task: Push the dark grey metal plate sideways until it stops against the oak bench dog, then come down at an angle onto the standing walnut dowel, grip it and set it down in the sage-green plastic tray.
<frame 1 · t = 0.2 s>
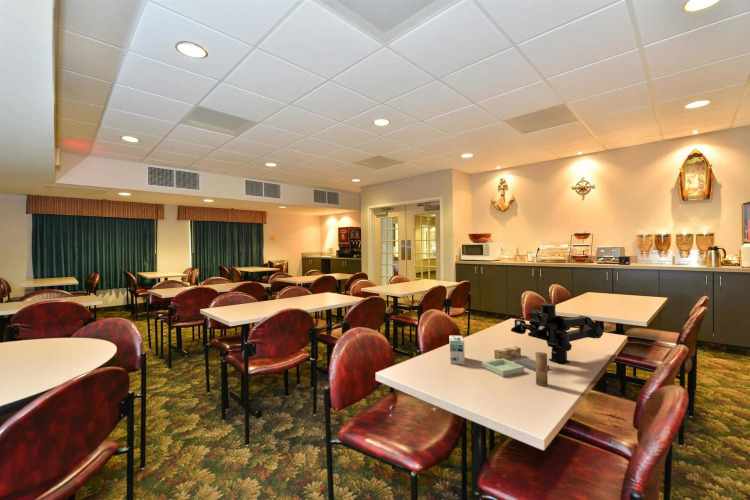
hand: (519, 332, 142), 17 cm above the table, tool horizontal, fingers open, 9 cm apart
metal plate: (531, 367, 147), on the table
tray: (502, 370, 143), on the table
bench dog: (507, 357, 159), on the table
walnut dowel: (541, 384, 127), on the table
light bulb box: (456, 360, 156), on the table
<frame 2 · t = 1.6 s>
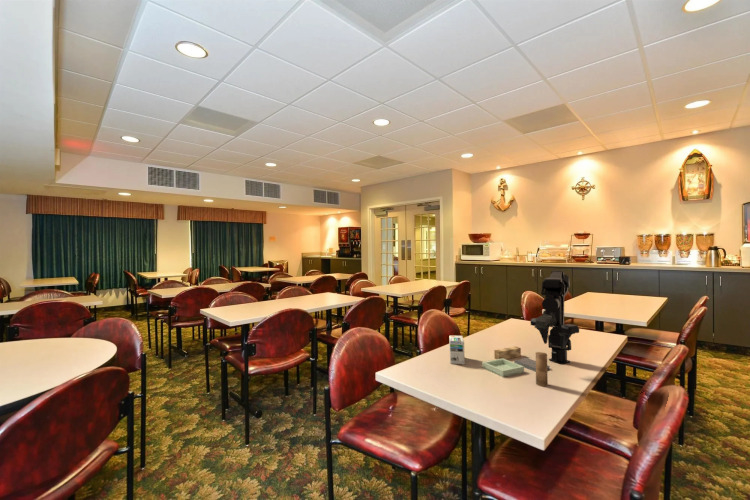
hand: (553, 346, 136), 12 cm above the table, tool pointing down, fingers open, 8 cm apart
nothing on the table moved.
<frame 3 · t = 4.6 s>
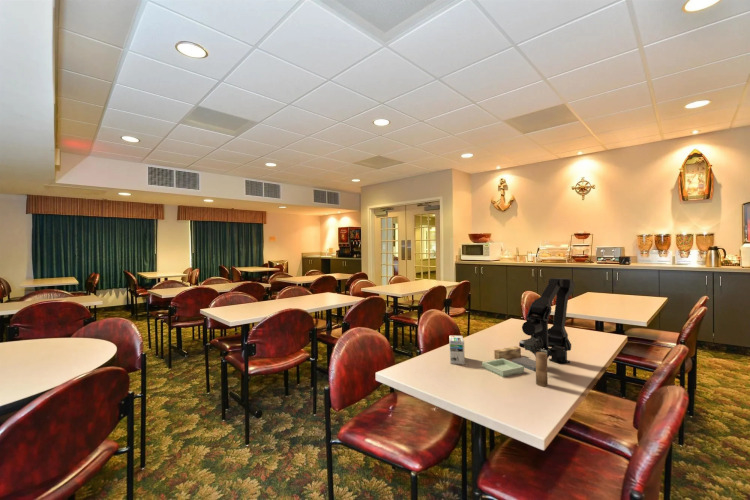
hand: (541, 367, 142), 1 cm above the table, tool pointing down, fingers closed
metal plate: (528, 366, 148), on the table
everything else where it was.
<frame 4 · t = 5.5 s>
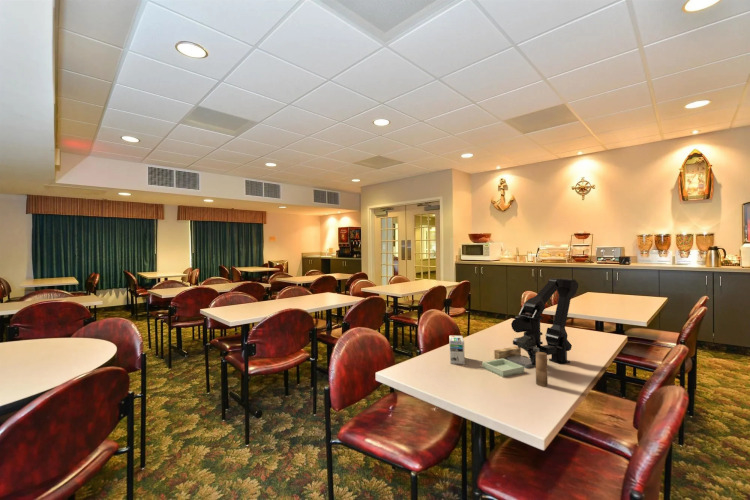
hand: (533, 364, 146), 1 cm above the table, tool pointing down, fingers closed
metal plate: (521, 363, 152), on the table
everything else where it was.
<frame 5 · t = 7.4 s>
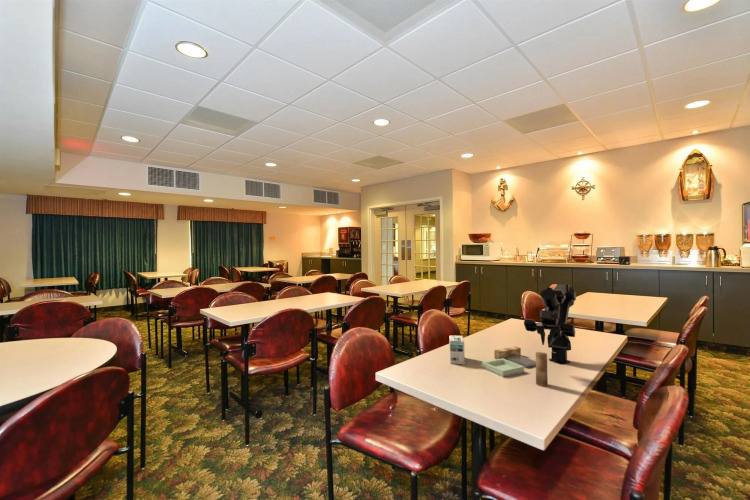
hand: (545, 345, 133), 13 cm above the table, tool tilted 45°, fingers closed
nothing on the table moved.
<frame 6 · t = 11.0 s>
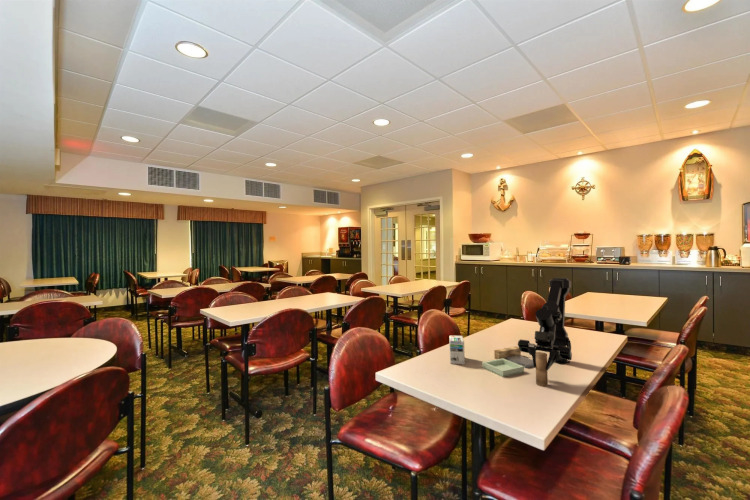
hand: (540, 368, 126), 7 cm above the table, tool tilted 45°, fingers closed on walnut dowel, 4 cm apart
walnut dowel: (541, 384, 127), on the table, touching gripper
everything else where it was.
when the fingers open (8 cm above the table, at t = 14.6 s): walnut dowel stays where it is, resting on tray.
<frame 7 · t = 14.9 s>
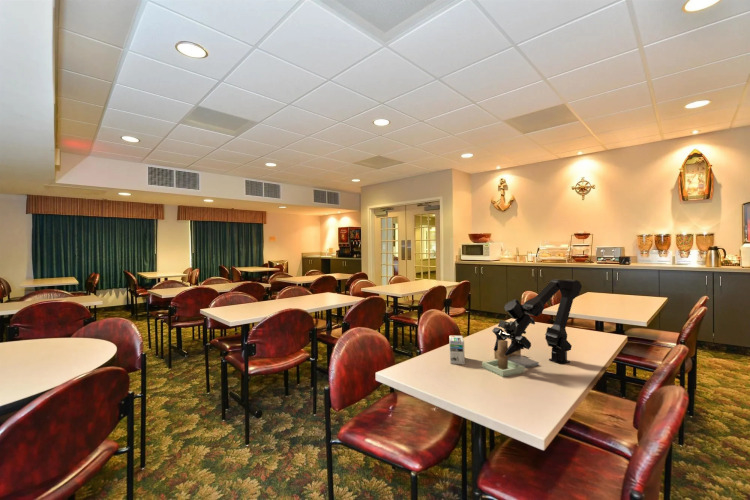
hand: (499, 352, 142), 8 cm above the table, tool tilted 45°, fingers open, 7 cm apart
walnut dowel: (502, 368, 143), point 1 cm above the table, touching tray
everything else where it was.
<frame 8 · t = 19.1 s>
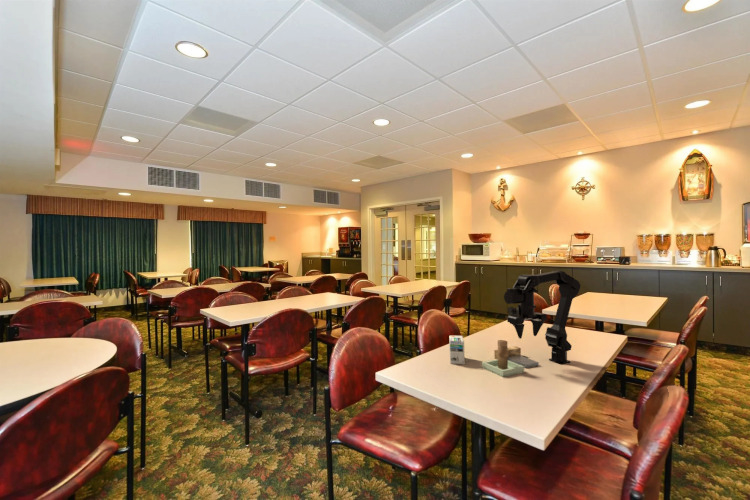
hand: (527, 337, 147), 13 cm above the table, tool pointing down, fingers open, 9 cm apart
nothing on the table moved.
at the end: metal plate 0.9 cm from the target spot, on the table; walnut dowel inside the target area on the tray (0.0 cm from its centre), point 0.6 cm above the tray's base; the gripper is holding nothing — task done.
